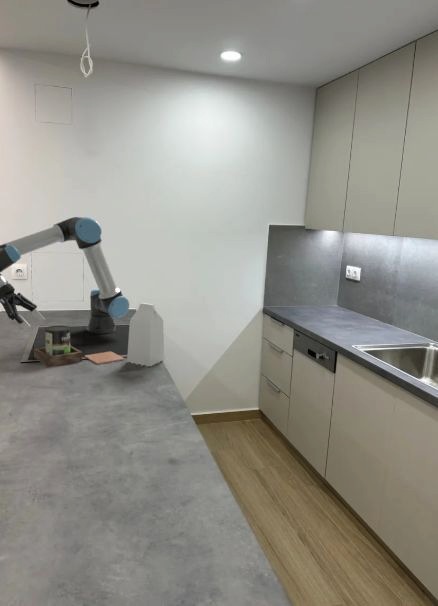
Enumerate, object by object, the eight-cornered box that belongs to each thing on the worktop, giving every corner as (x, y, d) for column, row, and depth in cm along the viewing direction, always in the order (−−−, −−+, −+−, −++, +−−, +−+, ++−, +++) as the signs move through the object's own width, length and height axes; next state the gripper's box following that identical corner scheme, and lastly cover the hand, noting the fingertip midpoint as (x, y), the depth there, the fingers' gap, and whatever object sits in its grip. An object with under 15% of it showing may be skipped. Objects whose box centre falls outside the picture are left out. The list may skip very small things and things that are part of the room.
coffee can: (74, 357, 206) (74, 326, 203) (62, 364, 196) (62, 331, 193) (53, 354, 208) (53, 324, 205) (40, 361, 198) (40, 329, 195)
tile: (110, 352, 215) (110, 351, 215) (124, 359, 206) (124, 358, 205) (84, 356, 207) (84, 355, 207) (97, 364, 197) (97, 363, 197)
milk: (164, 360, 208) (165, 303, 203) (150, 366, 198) (151, 307, 193) (141, 355, 213) (142, 300, 208) (126, 362, 202) (127, 304, 198)
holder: (68, 352, 212) (68, 343, 212) (82, 361, 201) (82, 352, 200) (34, 357, 203) (34, 348, 202) (46, 366, 191) (46, 357, 190)
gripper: (11, 289, 211) (43, 324, 212) (-22, 298, 186) (15, 337, 188) (22, 279, 210) (54, 313, 211) (-10, 286, 185) (27, 325, 187)
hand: (36, 324), depth 199 cm, fingers open, 13 cm apart
